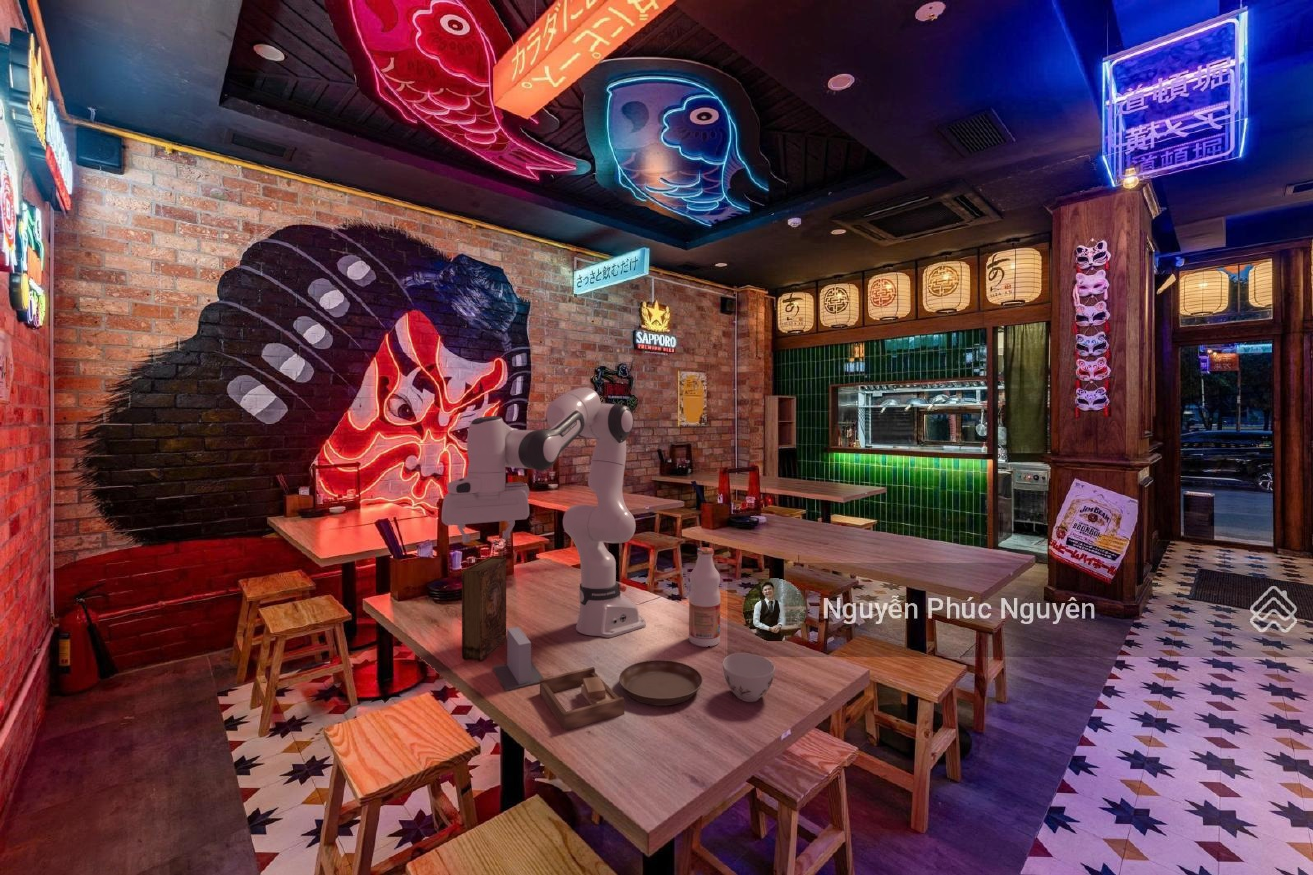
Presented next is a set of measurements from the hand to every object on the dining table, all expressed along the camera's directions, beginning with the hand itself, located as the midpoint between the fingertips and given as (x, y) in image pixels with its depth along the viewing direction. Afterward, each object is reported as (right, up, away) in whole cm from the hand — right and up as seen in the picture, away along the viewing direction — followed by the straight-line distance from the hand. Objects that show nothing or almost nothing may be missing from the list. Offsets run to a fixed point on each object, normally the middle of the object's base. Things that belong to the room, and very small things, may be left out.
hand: (486, 540), depth 131 cm
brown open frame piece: (+23, -37, -4) cm, 44 cm away
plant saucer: (+42, -38, +3) cm, 57 cm away
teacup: (+64, -38, +1) cm, 75 cm away
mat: (+5, -37, +10) cm, 39 cm away
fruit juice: (+56, -37, +32) cm, 74 cm away
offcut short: (+26, -36, -3) cm, 44 cm away
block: (+5, -37, +10) cm, 38 cm away
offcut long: (+27, -38, -2) cm, 47 cm away
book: (-8, -37, +25) cm, 45 cm away
